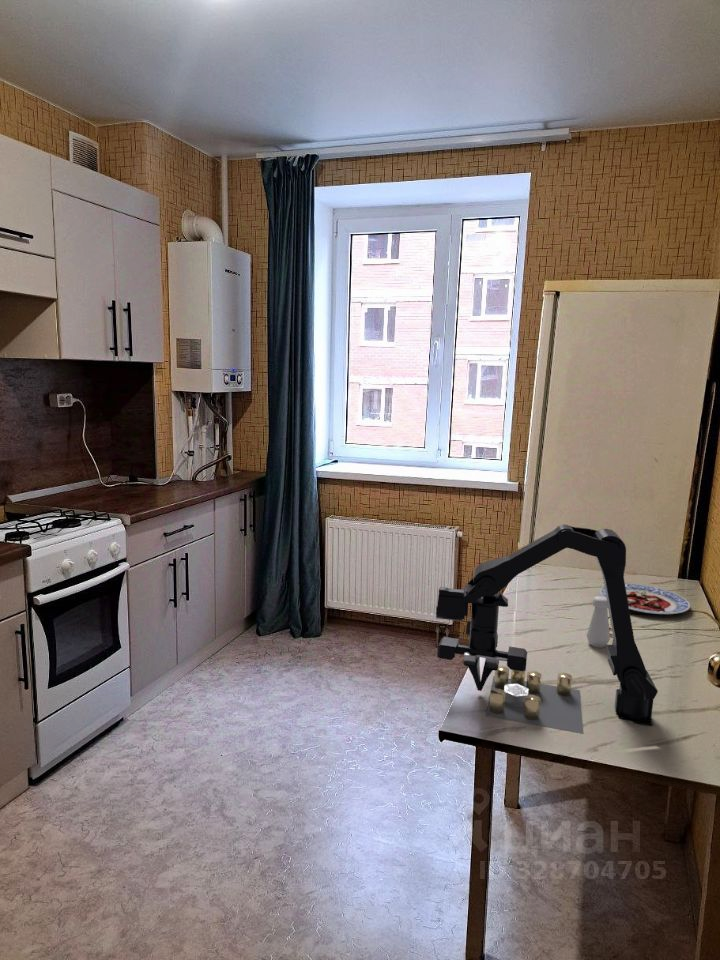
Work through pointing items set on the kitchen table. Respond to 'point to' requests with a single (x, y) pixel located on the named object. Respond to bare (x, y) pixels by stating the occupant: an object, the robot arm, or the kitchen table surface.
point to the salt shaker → (599, 623)
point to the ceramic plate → (653, 600)
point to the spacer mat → (547, 709)
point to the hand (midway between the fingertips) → (479, 689)
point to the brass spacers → (532, 684)
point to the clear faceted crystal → (515, 694)
